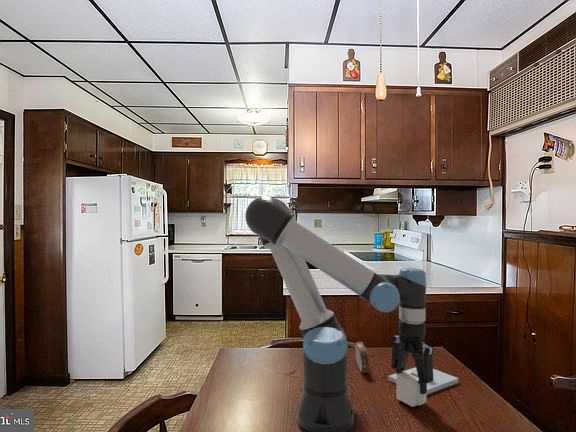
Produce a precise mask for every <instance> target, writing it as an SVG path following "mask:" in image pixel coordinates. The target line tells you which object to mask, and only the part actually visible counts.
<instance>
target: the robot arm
mask: <svg viewBox="0 0 576 432" xmlns="http://www.w3.org/2000/svg"><path fill="white" fill-rule="evenodd" d="M245 222H246V225H247V227H248V228H249V229H250V231H251V232H252V233H254V234H255V235H256V236H258V237H259V240H260V242H261V244H262V247H263V248H265V249H268V250H269V251H270V252H271V254H272V257H273V259H274V262H275V264H276V267H277V269H278V270H279V273H280V275H281V277H282V279H283V282H284V284H285V287H286V289H287V291H288V293H289V296H290V298H291V300H292V302H293V305H294V307H295V308H296V309H295V310H296V311H297V314H298V316H299V318H300V321H301V322H300V324H299V331H300V333H301V335H302V337H303V341H302V349H303V392H302V396H301V398H300V403H299V406H298V408H297V423H298V426H300V427H301V428H302V429H303V430H305V431H306V432H348V431H350V430H351V429H352V428H353V426H354V425H355V414H354V410H353V406H352V403H351V400H350V397H349V394H348V348H349V347H348V345H349V344H348V341H347V335H346V332H345V331H344V329H343V327H342V325H340V324H339V321H338V319H337V317H336V315H335V312H334V311H332V310H330V309H327V307H326V305H325V302H324V299H323V298H322V296H321V293H320V291H319V289H318V286H317V284H316V282H315V280H314V278H313V275H312V273H311V271H310V269H309V266H308V264H307V262H308V263H309V264H311V265H312V266H314V267H315V268H317V269H318V270H320V271H321V272H323V273H324V274H326V275H327V276H328V277H330V278H332V279H333V280H335V282H338V283H340V284H341V285H342V286H344V287H345V288H347V289H349V290H350V291H352V292H353V293H355V294H357V296H359V298H360V299H363V300H365V301H367V302H368V303H370V304H371V306H372V307H373V308H374V309H376V310H377V311H379V312H381V313H391V312H393V311H395V310H396V309H397V308H398V319H399V321H398V332H399V335H392V336H391V341H392V348H391V350H392V351H391V364H390V366H391V368H392V369H394V370H395V372H396V373H397V375H398V374H401V373H404V372H403V371H405V370H406V366H407V363H408V359H409V355H410V354H411V357H412V358H413V359H414V363H415V367H416V369H417V374H418V378H419V381H417V392H416V405H417V406H422V405H424V404H426V402H425V394H426V393H427V383H429V382H432V381H433V369H434V366H433V364H434V363H433V362H434V360H433V355H434V354H433V353H434V351H435V349H434V347H433V346H429V345H428V344H426V341H425V335H426V323H425V322H426V314H427V313H426V310H427V309H426V306H427V305H426V301H427V300H426V298H427V296H426V295H427V277H426V271H424V269H421V268H416V267H403V268H400V269H399V273H398V274H383V273H382V274H381V273H380V274H378V273H376V272H374V271H373V270H372V269H370V268H368V267H367V266H366V265H364V264H362V263H361V262H359V261H357V260H356V259H355V258H353V257H351V256H350V255H348V254H347V253H345V252H344V251H342V250H341V249H339V248H337V247H336V246H335V245H333V244H331V243H330V242H328V241H327V240H326V239H324V238H322V237H321V236H319V235H318V234H315V233H314V232H312V231H311V230H309V229H308V228H306V227H305V226H303V225H302V224H300V223H299V222H297V219H296V216H295V215H293V214H292V212H291V210H290V208H289V206H288V205H287V204H286V203H285V202H284V201H282V200H280V199H278V198H274V197H271V196H259V197H256V198H254V199H253V200H252V201H251V202H250V203H249V204H248V206H247V207H246V211H245Z"/></svg>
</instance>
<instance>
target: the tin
mask: <svg viewBox="0 0 576 432" xmlns="http://www.w3.org/2000/svg"><path fill="white" fill-rule="evenodd" d="M354 346H355V347H354V348H355V360H356V363H357V366H358V369H359V371H360V372H361V373H369V371H370V365H369V364H370V363H369V357H368V351H367V349H366V347H365V345H364V343H363V341H357V342H356V341H355V343H354Z"/></svg>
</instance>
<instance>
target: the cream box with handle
mask: <svg viewBox="0 0 576 432" xmlns="http://www.w3.org/2000/svg"><path fill="white" fill-rule="evenodd" d="M417 381H419V378H418V374H416V373H414V372H412V371H408V372H404V373H401V374H398V375H397V384H395V385H396V394H395V396H396V397H395V399H397V400H399V401H401V402H403V403H404V404H407V406H410V407H411V408H413V407H417V406H418V405H416V392H417ZM425 403H427V395H426V394H425Z"/></svg>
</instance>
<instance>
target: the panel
mask: <svg viewBox="0 0 576 432" xmlns="http://www.w3.org/2000/svg"><path fill="white" fill-rule="evenodd" d="M408 371H412V372H414V373H416V374H417V369H416V366H415V367H413V368H410V369H405V371H403V372H408ZM387 376H388V381H390V382H392V383H394V384H395V385H397V372H396V373H394V374H390V375H387ZM458 383H459V377H456V376H453V375H451V374H448V373H445V372H442V371H441V370H438V369H435V368H433V381H432V382H429V383H427V393H426V396H428V395H430V394H432V393H435V392H438V391H441V390H443V389H445V388H448V387H451V386H453V385H457V384H458Z"/></svg>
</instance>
